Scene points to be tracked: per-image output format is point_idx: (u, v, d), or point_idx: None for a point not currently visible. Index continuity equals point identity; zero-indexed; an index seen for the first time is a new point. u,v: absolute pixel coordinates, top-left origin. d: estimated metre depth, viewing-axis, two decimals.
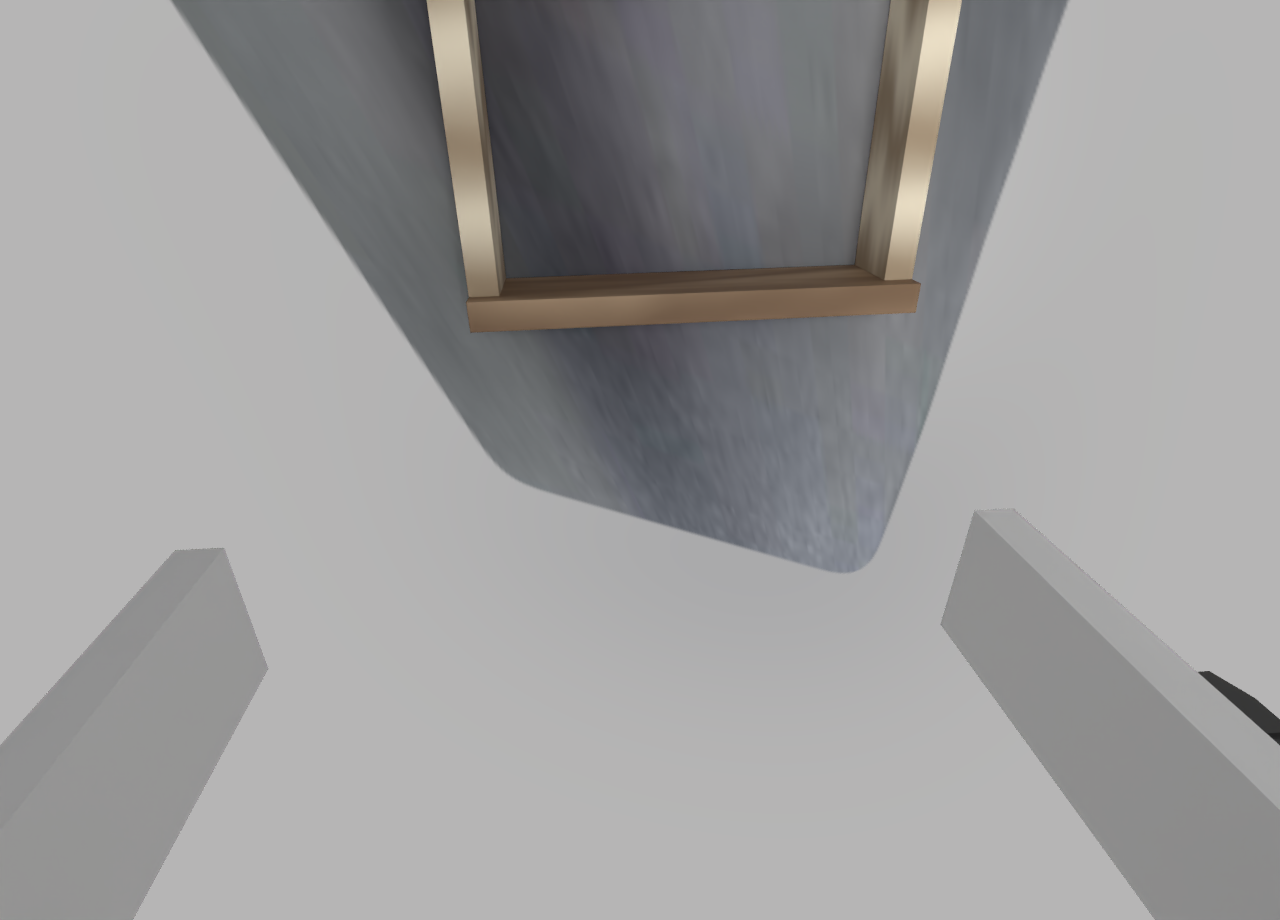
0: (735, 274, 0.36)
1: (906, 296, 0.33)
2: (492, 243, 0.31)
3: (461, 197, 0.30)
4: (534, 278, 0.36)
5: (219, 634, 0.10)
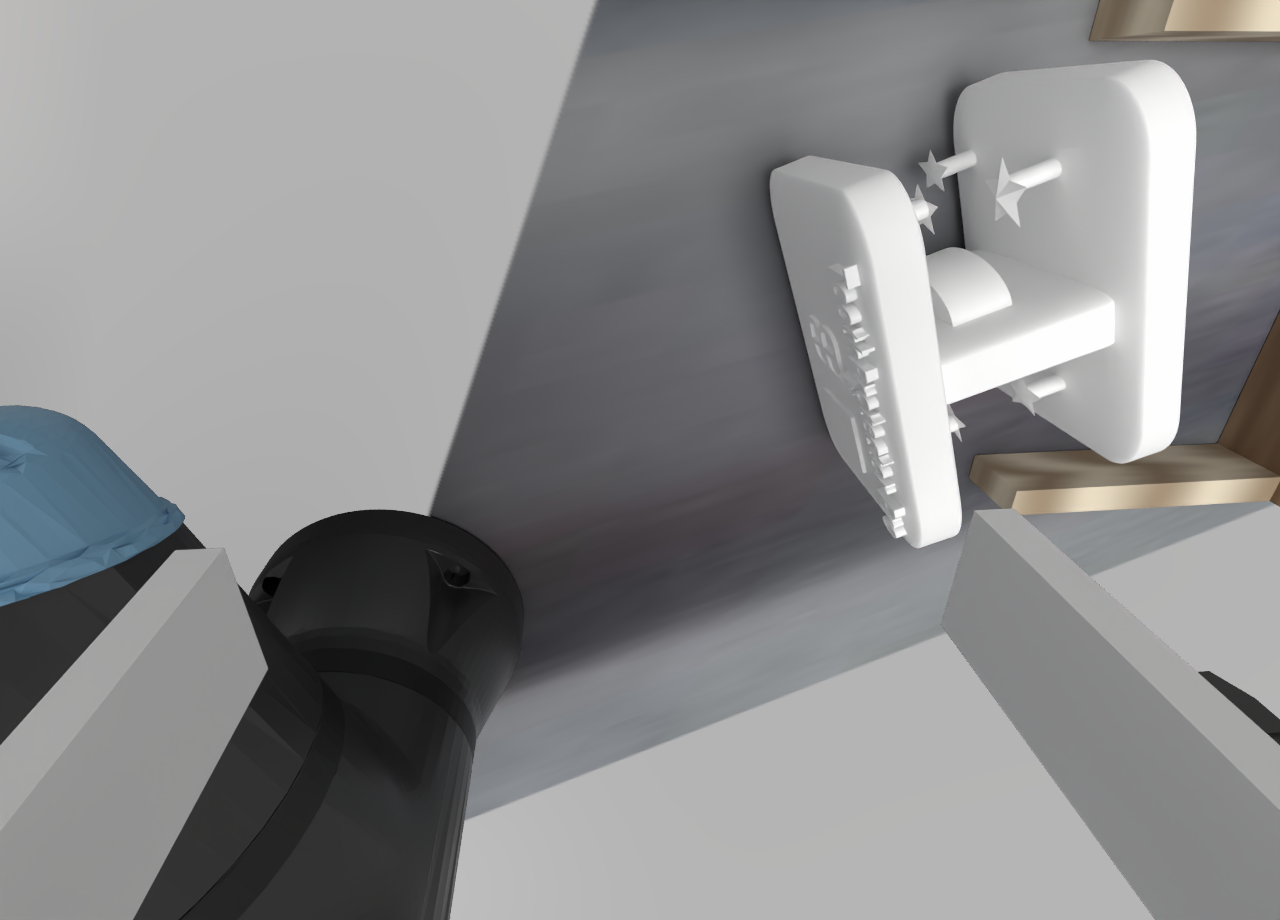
0: None
1: None
2: (1237, 479, 0.35)
3: (1193, 500, 0.35)
4: (1233, 421, 0.37)
5: (219, 634, 0.10)
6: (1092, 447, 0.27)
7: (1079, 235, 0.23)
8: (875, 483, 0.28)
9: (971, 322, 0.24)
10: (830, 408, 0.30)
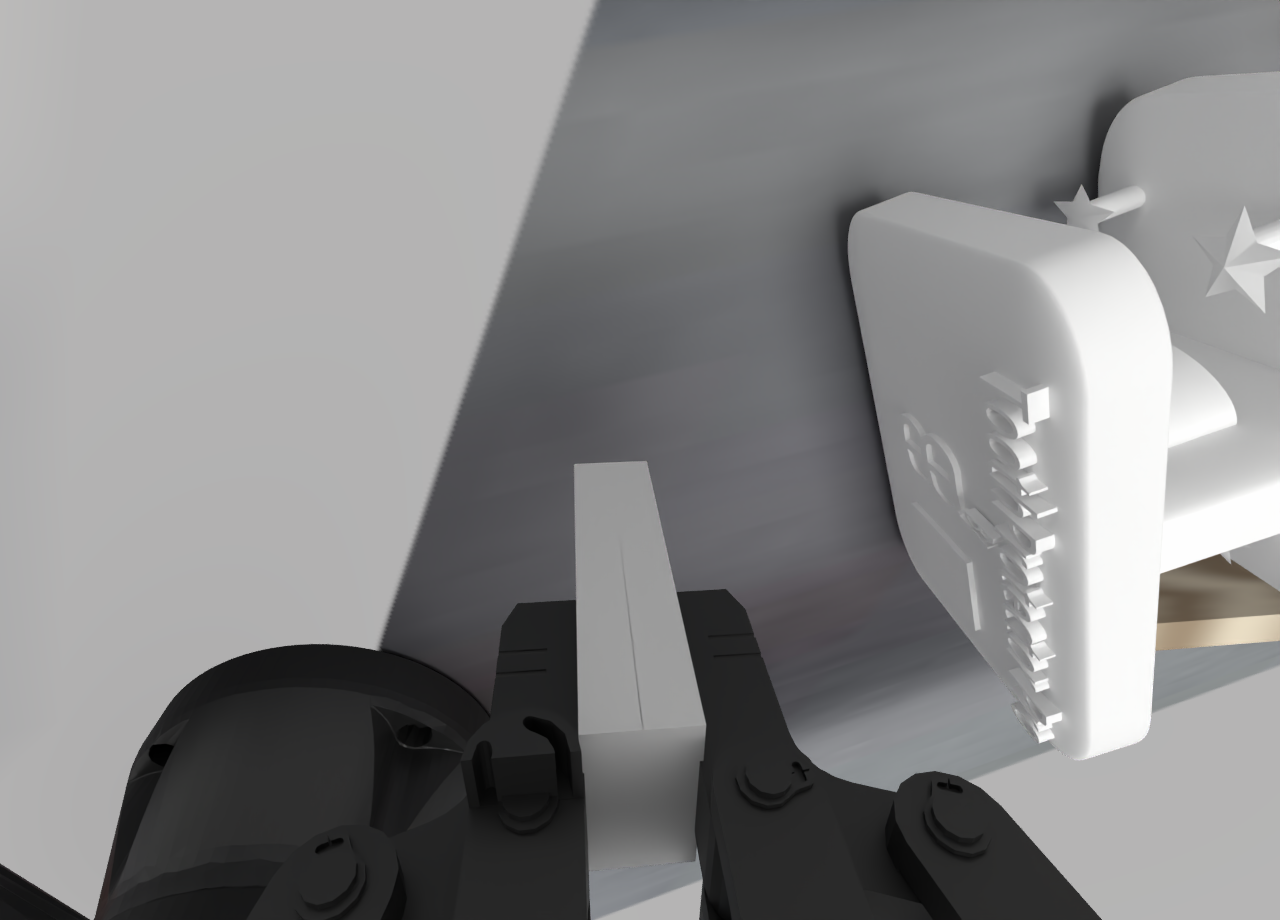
0: None
1: None
2: None
3: None
4: None
5: None
6: None
7: None
8: (997, 650, 0.20)
9: (1176, 450, 0.16)
10: (921, 530, 0.22)
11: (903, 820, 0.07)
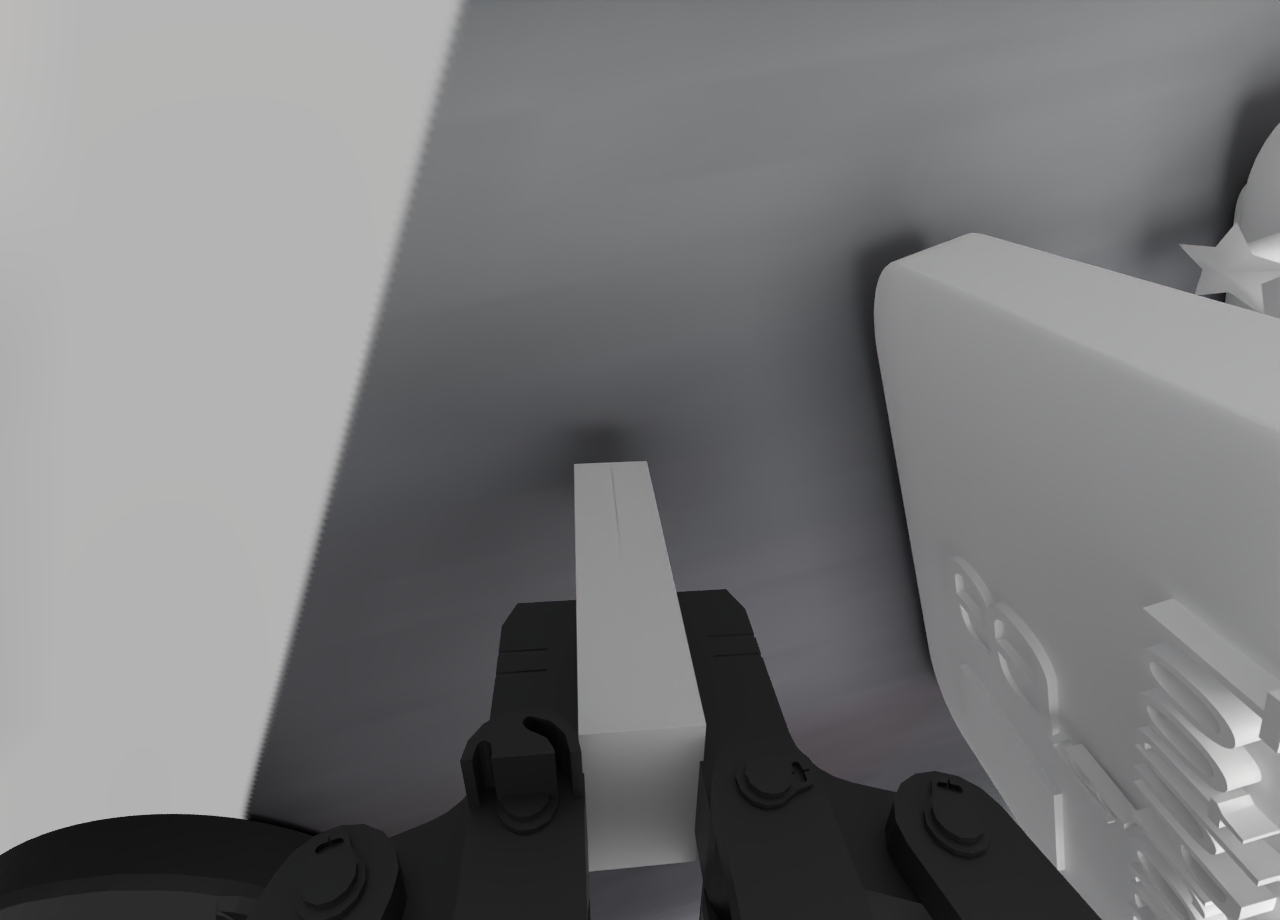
0: None
1: None
2: None
3: None
4: None
5: None
6: None
7: None
8: None
9: None
10: (973, 704, 0.16)
11: (903, 820, 0.07)
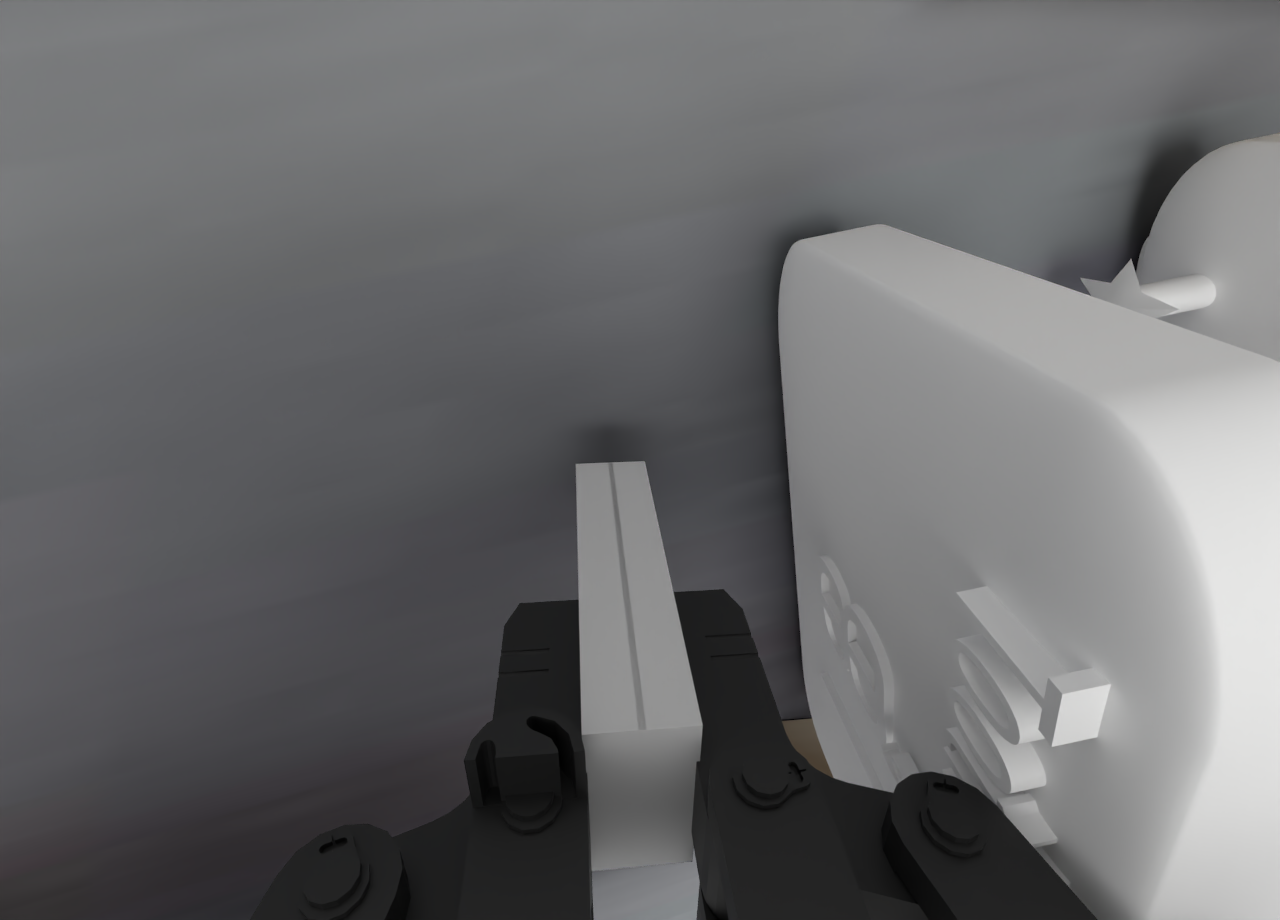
0: None
1: None
2: None
3: None
4: None
5: None
6: None
7: None
8: None
9: None
10: (829, 714, 0.15)
11: (900, 821, 0.07)
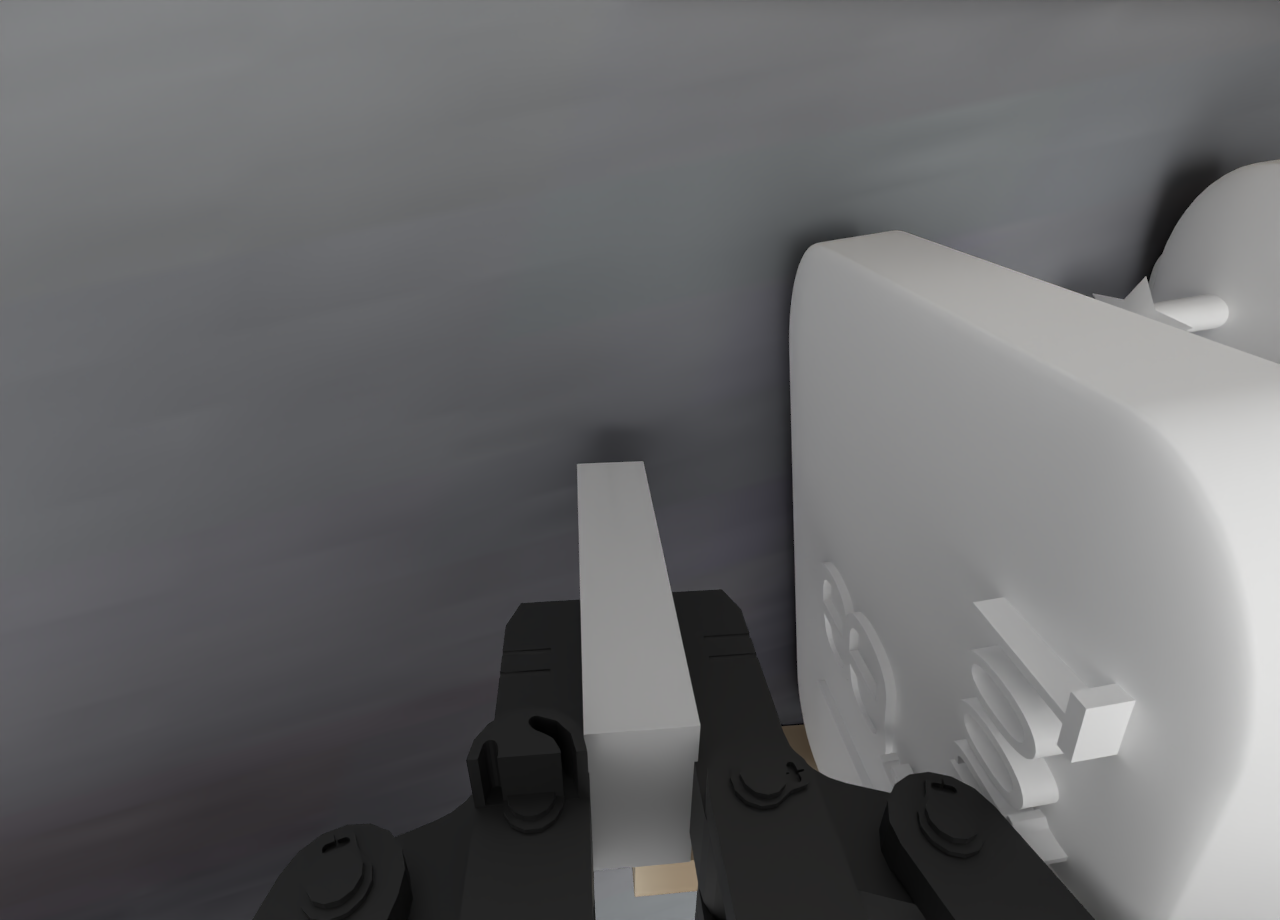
0: None
1: None
2: None
3: None
4: None
5: None
6: None
7: None
8: None
9: None
10: (824, 723, 0.15)
11: (897, 821, 0.07)
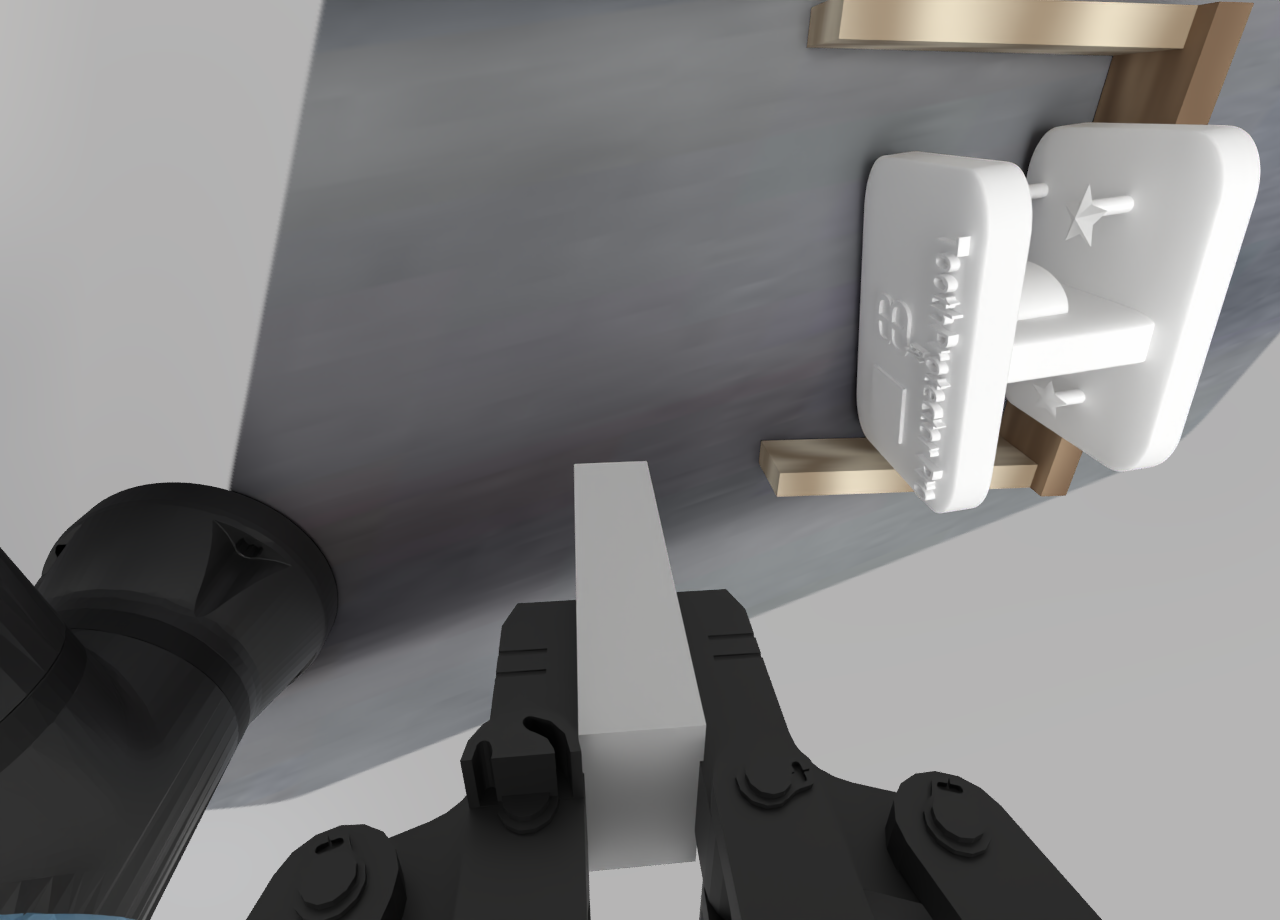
0: None
1: (1226, 21, 0.26)
2: (994, 466, 0.37)
3: None
4: (1007, 412, 0.39)
5: None
6: (1096, 456, 0.31)
7: (1135, 264, 0.27)
8: (910, 453, 0.31)
9: (1033, 319, 0.27)
10: (875, 384, 0.33)
11: (903, 820, 0.07)
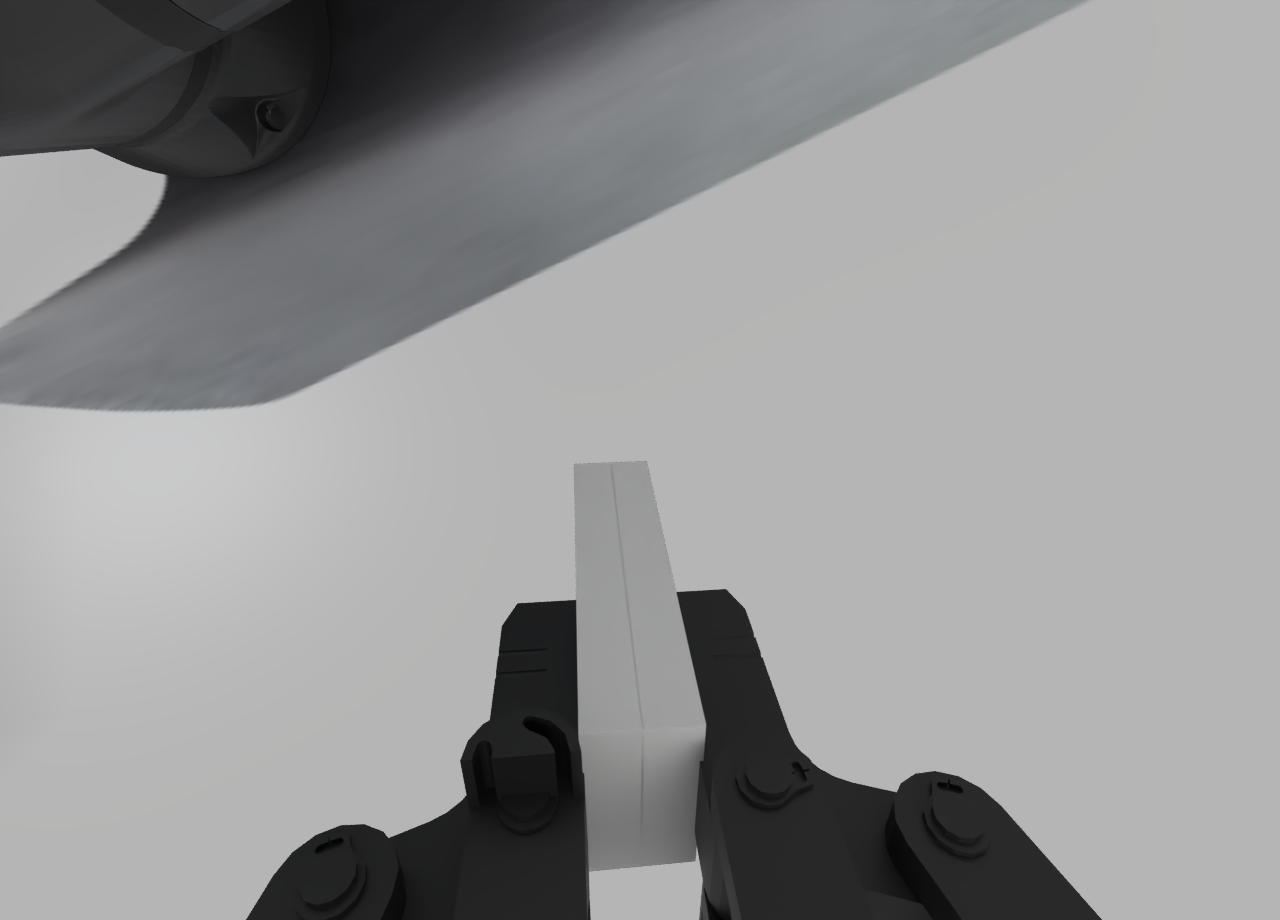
0: None
1: None
2: None
3: None
4: None
5: None
6: None
7: None
8: None
9: None
10: None
11: (903, 820, 0.07)
